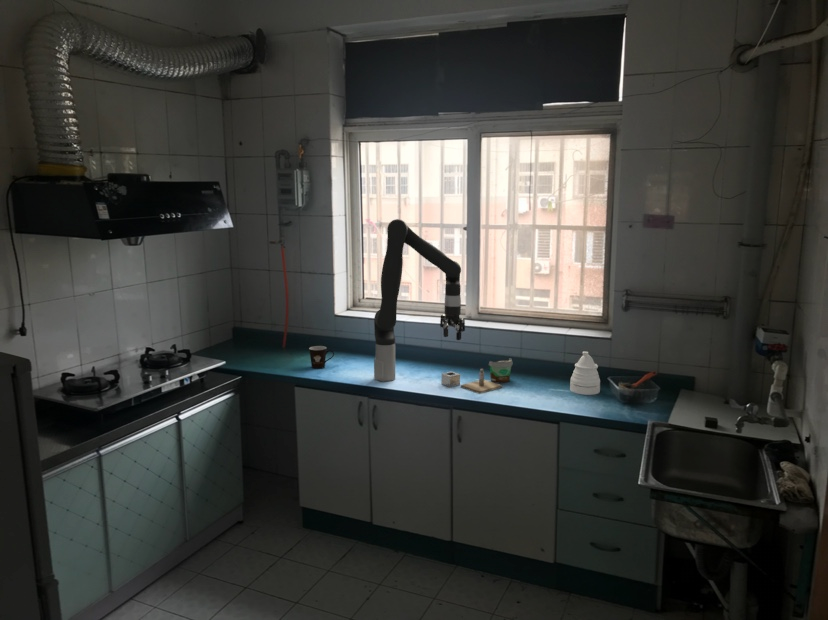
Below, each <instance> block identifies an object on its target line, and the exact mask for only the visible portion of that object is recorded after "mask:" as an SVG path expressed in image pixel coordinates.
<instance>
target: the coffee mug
mask: <svg viewBox="0 0 828 620" xmlns="http://www.w3.org/2000/svg"><path fill="white" fill-rule="evenodd" d="M308 350H309V356H310V364H311V368H312V370H322V369H325V366H326V363H327V362H328V361H329V360H331V359H332V358H333V357H334V355H335V352H334V351H333V350H331V349H329V350H327V347H326V346H323V345H315V346H310V347H309V348H308ZM329 352H331V353H332V356H330V357H329V358H328V359H326V355H327V354H328V353H329Z"/></svg>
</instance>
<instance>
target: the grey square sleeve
mask: <svg viewBox="0 0 828 620" xmlns="http://www.w3.org/2000/svg"><path fill="white" fill-rule="evenodd" d="M440 380H441V382H440V383H441V385H443V386H446V387H448V388H452V387H457V386H461V374H460V373H458V372H454V371H452V370H451V371H448V372H443V373H441V379H440Z"/></svg>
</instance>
